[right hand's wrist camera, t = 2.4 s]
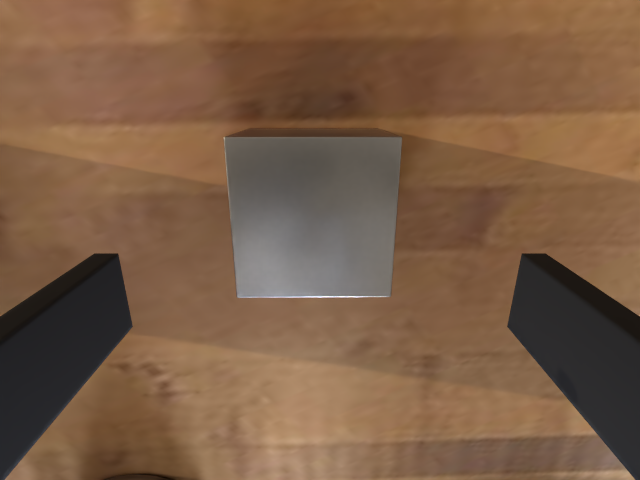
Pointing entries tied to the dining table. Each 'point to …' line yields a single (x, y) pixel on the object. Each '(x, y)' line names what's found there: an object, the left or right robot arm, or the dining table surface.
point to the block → (313, 211)
